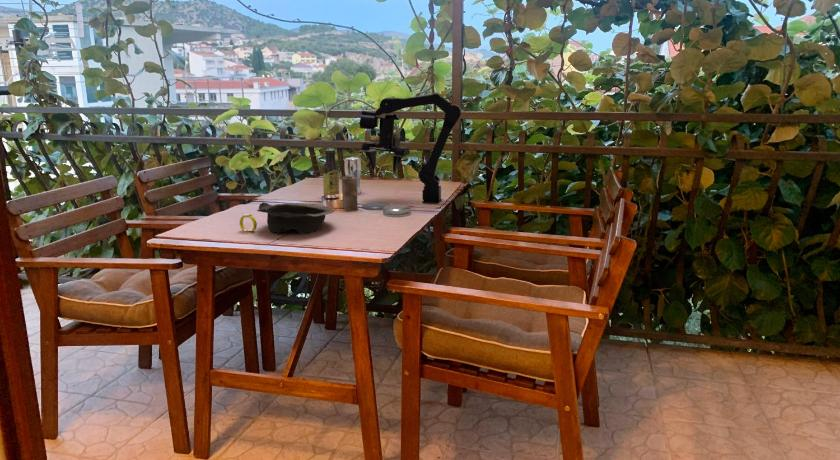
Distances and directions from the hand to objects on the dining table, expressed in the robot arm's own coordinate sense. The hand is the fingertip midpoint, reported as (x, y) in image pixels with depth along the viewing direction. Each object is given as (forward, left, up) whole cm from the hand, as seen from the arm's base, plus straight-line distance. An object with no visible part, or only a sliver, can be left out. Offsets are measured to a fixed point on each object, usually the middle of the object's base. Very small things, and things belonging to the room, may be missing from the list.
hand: (384, 170), depth 236 cm
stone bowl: (+13, +46, -13) cm, 49 cm away
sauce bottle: (+23, 0, -13) cm, 27 cm away
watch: (+27, +54, -13) cm, 62 cm away
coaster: (0, +10, -12) cm, 16 cm away
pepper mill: (+8, +16, -12) cm, 22 cm away
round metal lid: (-12, +18, -13) cm, 25 cm away
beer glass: (+18, -11, -13) cm, 25 cm away
